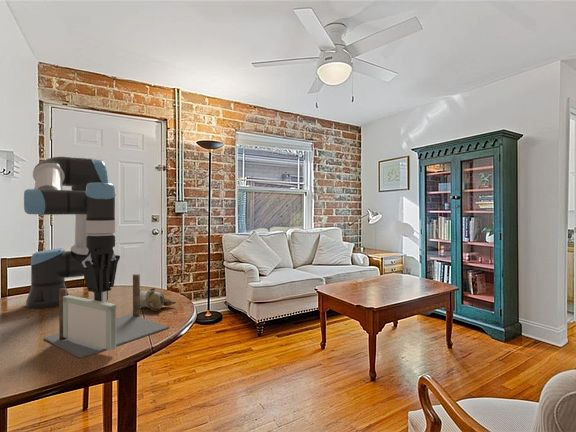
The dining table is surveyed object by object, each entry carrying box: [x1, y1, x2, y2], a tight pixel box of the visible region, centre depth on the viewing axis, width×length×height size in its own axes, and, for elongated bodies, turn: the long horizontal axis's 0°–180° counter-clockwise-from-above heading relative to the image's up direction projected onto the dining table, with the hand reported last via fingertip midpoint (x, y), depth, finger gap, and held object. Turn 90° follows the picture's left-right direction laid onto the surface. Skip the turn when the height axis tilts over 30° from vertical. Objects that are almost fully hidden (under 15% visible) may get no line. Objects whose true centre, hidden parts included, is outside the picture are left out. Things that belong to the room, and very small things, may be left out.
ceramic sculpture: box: [140, 287, 177, 312], centre depth 134 cm, size 11×9×15 cm
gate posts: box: [58, 273, 141, 340], centre depth 112 cm, size 2×28×16 cm, turn 152°
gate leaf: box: [63, 294, 117, 351], centre depth 95 cm, size 22×2×12 cm, turn 64°
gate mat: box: [43, 313, 170, 359], centre depth 106 cm, size 24×28×1 cm
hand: (101, 313), depth 97 cm, fingers closed
